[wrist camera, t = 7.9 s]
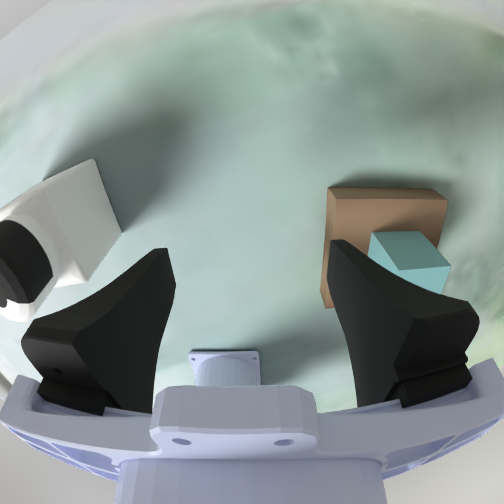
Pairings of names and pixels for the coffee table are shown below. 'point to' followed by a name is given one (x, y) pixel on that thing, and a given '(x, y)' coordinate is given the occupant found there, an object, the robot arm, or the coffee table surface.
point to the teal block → (410, 258)
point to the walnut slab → (378, 218)
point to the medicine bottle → (53, 238)
